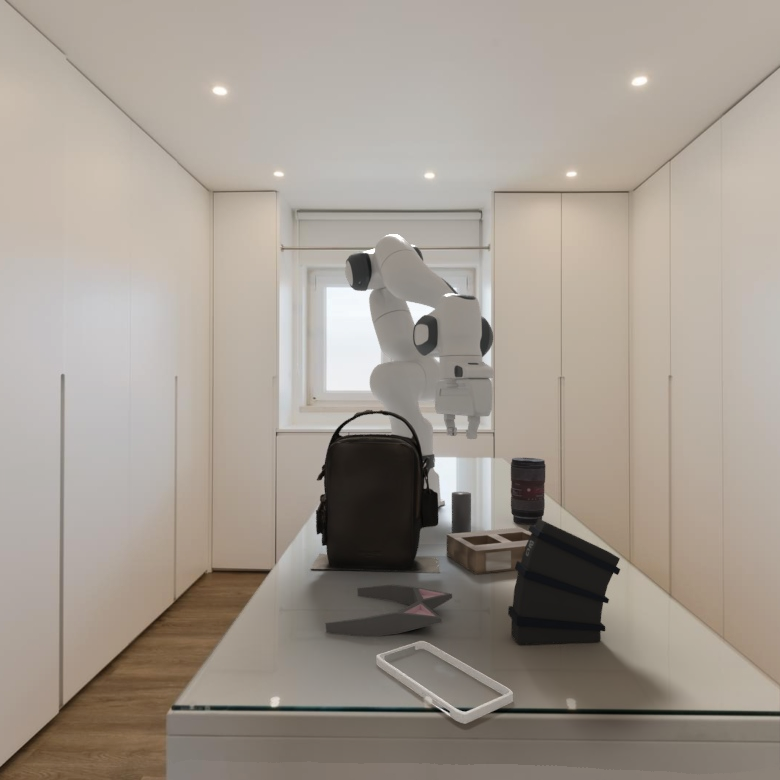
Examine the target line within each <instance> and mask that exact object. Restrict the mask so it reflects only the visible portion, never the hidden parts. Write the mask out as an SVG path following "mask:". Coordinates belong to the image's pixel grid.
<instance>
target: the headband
mask: <svg viewBox="0 0 780 780" xmlns="http://www.w3.org/2000/svg"><path fill="white" fill-rule="evenodd" d="M357 596H358V597H360V598H361V597H363V598H371V599H376V600H383V601H391V602H396V603H399V604H403V605H408V606H406V607H404V608H402V609H400V610H398V611H395V612H388V613H383V614H378V615H373V616H367V617H359V618H350V619H344V620H338V621H331V622H325V633H327V634H335V635H337V634H338V635H345V636H346V635H347V636H357V637H367V638H368V637H380V636H381V637H382V636H389V635H395V634H396V635H397V634H401V633H405V632H406V633H407V632H409V631H413V630H417V629H422V628H425V627H429V626H430V627H431V626H434V625H438V624H442V623H443V622H442V617H441V616H439V615H438V614H437V613H436V612H434V610H435V609H437V608H438V607H440V606H441V605H443V604H445V603H446V602H448V601H449V600H451V599H453V594H452V593H449V592H443V591H438V590H432V589H428V588H427V589H426V588H423V587H417V586H410V585H409V586H408V585H401V584H385V585H376V586H375V585H374V586H365V587H364V586H363V587H358V588H357Z"/></svg>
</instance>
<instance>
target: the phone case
mask: <svg viewBox="0 0 780 780" xmlns="http://www.w3.org/2000/svg"><path fill="white" fill-rule="evenodd" d="M412 647H414V650H416V651H417V650H425V651H428V652H429V653H431V654H432V655H434V656H436V657H437V658H439V659H441V660H443V661H445V662H446V663H448V664H450V665H452V666H453V667H454V668H457V669H459V670H460V671H462V672H464V673H465V674H467V675H468V676H470V677H472V678H473V679H475V680H477V681H478V682H480V683H482V684H483V685H485V686H487V687H489V688H490V689H493V690H494V691H495V692H497V693H499V694H501V696H499V697H496V698H494V699H492V700H489V701H487V702H485V703H482V704H481V705H479V706H475V707H474V708H471V709H469V710H467V711H462V710H460V709H458V708H456V707H455V706H453V705H451V704H450V703H449V702H447V701H445V699H443V698H441V697H439V696H438V695H437V694H436V693H434V692H432V691H431V690H429V689H428V688H426V687H425V686H423V685H422V684H420V683H419V682H417V681H416V680H415V679H413V678H412V677H410V676H408V674H406V673H404V672H402V670H400V669H398V668H397V667H395V666H394V665H392V664H391V663H390V662H387V661H386V660H385V656H389V655H391V654H394V653H397V652H401V651H404V650H407V649H409V648H412ZM375 657H376V660H375V661H376V666H378V667H379V668H380V669H381V670H383V671H384V672H386V673H387V674H389V675H390V676H391V677H393V678H394V679H396V680H397V681H398V682H400V683H402V684H403V685H404V686H406V687H408V688H409V689H411V690H412V691H413V692H414V693H416V694H417V695H418V696H420V697H421V698H425V697H426V696H427V697H429V698H430V699H431V700H433V701H435V702H436V703H437V704H439V705H440V706H442V707H443V708H445V709H446V710H447V711H446V710H444V709H442V707H439V706H437V705H436V704H434V703H433V702H430V701H429V703H430V704H432V706H434V707H436V708H437V709H438V710H440V711H441V712H443V713H444V714H446V715H447V716H449V717H450V718H452V720H454V721H456V722H458V723H460V724H466V725H467V724H468V723H471V722H473V721H476V720H477V719H479V718H481V717H484V716H487V715H488V714H489V713H493V712H494V711H497V710H498V709H501V708H503V707H504V706H506V705H509V704H511V703H513V702H514V693H513V691H512V690H511V689H510V688H509V687H507V686H505V685H504V684H502V683H500V682H498V681H496V680H494V679H493V678H491V677H490V676H487V675H486V674H484V673H482V672H481V671H479V670H477V669H475V668H473V666H470V665H468V664H467V663H464V662H463V661H461V660H460V659H458V658H456V657H454V656H452V655H451V654H449V653H447V652H445V651H444V650H442V649H441V648H438V647H437V646H436V645H435V646H434V645H433V644H432V643H429V642H427V641H425V640H418V641H416V642H413V643H409V644H407V645H403V646H400V647H397V648H393V649H390V650H388V651H384V652H382V653H379V654H376V656H375ZM448 711H449V712H448Z"/></svg>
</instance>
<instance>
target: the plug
mask: <svg viewBox="0 0 780 780" xmlns="http://www.w3.org/2000/svg"><path fill="white" fill-rule="evenodd" d="M464 532H472V493H471V492H469V491H453V492H451V534H453V533H464Z"/></svg>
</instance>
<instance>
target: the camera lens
mask: <svg viewBox="0 0 780 780" xmlns="http://www.w3.org/2000/svg"><path fill="white" fill-rule="evenodd" d="M510 482H511V484H510V486H511V488H510V496H511V497H510V510H511V515H512V519H513V522H514V523H517V524H520V525H521V524H522V525H536V523H537V521H538V519H541V520H543V517H544V515H545V508H546V507H545V505H546V503H545V483H546V464H545V459H541V458H533V457H512V458H511V462H510Z"/></svg>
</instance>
